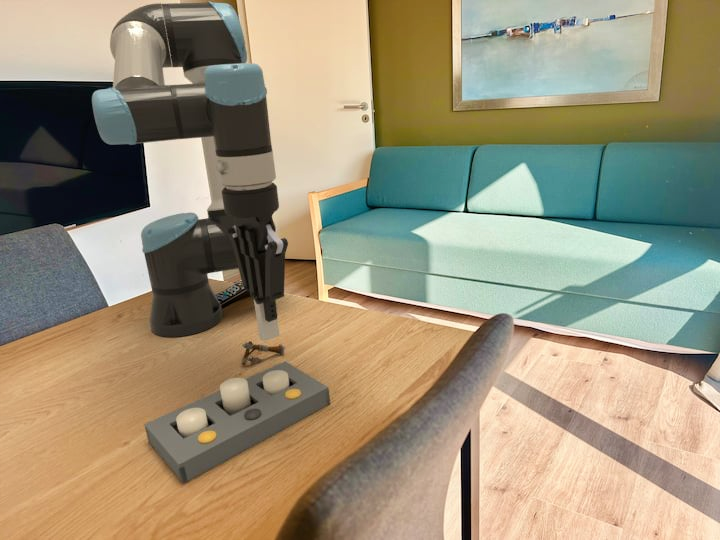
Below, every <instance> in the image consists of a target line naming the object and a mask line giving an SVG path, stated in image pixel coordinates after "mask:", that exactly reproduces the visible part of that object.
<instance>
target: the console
mask: <svg viewBox="0 0 720 540" xmlns="http://www.w3.org/2000/svg"><path fill="white" fill-rule="evenodd" d="M275 370H282V371H285V372H287V373H288V378H289V383H291V384H292V385H289V386H290V387H288V388H286V389H284V390H282V391H280V392H278V393H276V394H274V395H272V396H271V395H270V394H268V393H267V392H266V391H264V386H263V376H264V375H265V374H266V373H268V372H271V371H275ZM245 379H246V380H247V383H248V389H249V395H250V400H252V401H254V402H255V403H254V404H251V406H249V407H247V408H245V409H243V410H241V411H239V412H237V413H235V414H233V415H229V414H227V413H226V412H225V411H224V408H223V402H222V397H221V391H220V389H219V390H217V391H215V392H213V393H211V394H209V395H207V396H204V397H202V398H200V399H197V400H195V401H193V402H191V403H188V404H186V405H184V406H182V407H180V408H178V409H175V410H172V411H171V412H168V413H166V414H164V415H162V416H160V417H157V418H154V419H152V420H151V421H148V422H146V423H144V429H145V432H146V437H147V440H148V443H149V444H150V446H151V447H152V448H153V449H154V450H155V451H156V453H157V454H158V455H159V456H160V458H161V459H162V460H163V461H164V462H165V464H166V466H168V467H169V468H170V469H171V471H172V472H173V473H174V475H175V476H176V477H177V478H178V479H179V481H180V482H181V483H182V484H183V485H184V484H185V483H187V482H189V481H191V480H193V479H194V478H196V477H199V476H201V475H202V474H204V473H205V472H208V471H210V470H211V469H214V468H215V467H217V466H219V465H221V464H222V463H224V462H226V461H227V460H228V461H229V460H230V459H232V458H233V457H235V456H237V455H239V454H241V453H243V452H245V451H247V450H248V449H250V448H251V447H254V446H255V445H257V444H258V443H261V442H263V441H264V440H266V439H268V438H270V437H272V436H274V435H276V434H277V433H279V432H281V431H283V430H284V429H287V428H288V427H290V426H292V425H294V424H296V423H297V422H300V421H301V420H303V419H305V418H307V417H309V416H311V415H313V414H314V413H316V412H318V411H319V410H322V409H323V408H325V407H327V406H329V405H331V400H330V399H331V398H330V390H329V389H330V388H329V386H328V385H326V384H325V383H322V382H321V381H319V380H317V379H316V378H314V377H312V376H311V375H309V374H307V373H306V372H304V371H303V370H301V369H299V368H298V367H296V366H294V365H292V364H291V363H289V362H287V361H283V362H279V363H278V364H276V365H273V366H271V367H269V368H267V369H264V370H262V371H260V372H258V373H255V374H252V375H251V376H249V377H247V378H245ZM190 408H202V409H204V410H205V412H206V417H207V420H209V421H210V422H211V423H212V424H211V425H208V427H206V428H204V429H202V430H200V431H198V432H196V433H194V434H192V435H190V436H188V437H186V438H184V439H183V438H182V437H181V436H180V435H179V431H178V426H177V422H176V418H177V416H178V415H179V414H180V413H181V412H183V411H185V410H187V409H190Z"/></svg>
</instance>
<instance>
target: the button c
mask: <svg viewBox="0 0 720 540" xmlns="http://www.w3.org/2000/svg"><path fill="white" fill-rule="evenodd" d="M263 386H264V391H266V392H267V393H268V394H270V395H271V396H272V395H274V394H276V393H278V392H280V391H282V390H284V389H286V388H288V387H290V386H291V385H290V381H289V378H288V373H287V372H285V371H282V370H275V371H271V372H268V373H266V374H265V375H264V376H263Z"/></svg>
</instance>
